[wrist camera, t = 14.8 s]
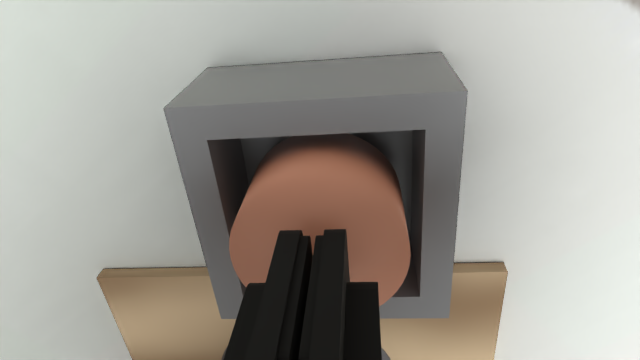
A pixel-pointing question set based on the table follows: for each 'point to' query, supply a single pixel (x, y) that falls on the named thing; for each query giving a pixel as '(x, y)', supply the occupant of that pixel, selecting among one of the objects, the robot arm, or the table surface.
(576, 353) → the table surface
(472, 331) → the wooden board
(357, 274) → the button
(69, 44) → the table surface
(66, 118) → the table surface
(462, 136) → the button housing
